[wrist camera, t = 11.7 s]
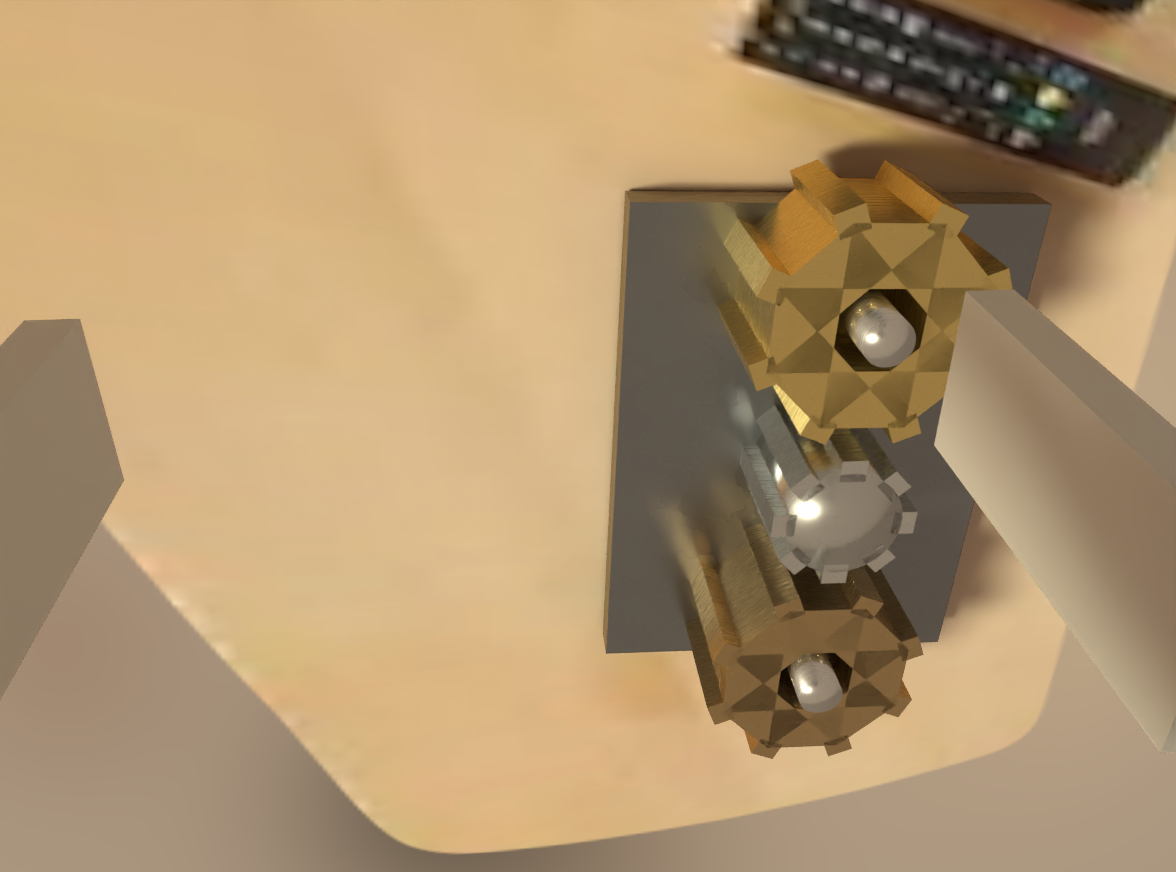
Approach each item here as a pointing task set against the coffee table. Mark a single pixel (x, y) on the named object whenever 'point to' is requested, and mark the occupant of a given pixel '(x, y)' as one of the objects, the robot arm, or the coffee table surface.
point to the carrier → (767, 436)
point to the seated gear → (796, 647)
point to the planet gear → (852, 296)
